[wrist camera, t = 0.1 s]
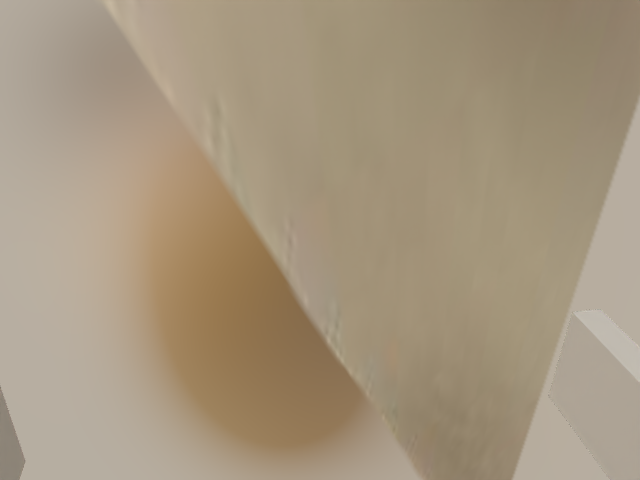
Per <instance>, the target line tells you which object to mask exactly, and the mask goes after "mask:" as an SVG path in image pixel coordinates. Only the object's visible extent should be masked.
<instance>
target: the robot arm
mask: <svg viewBox="0 0 640 480" xmlns="http://www.w3.org/2000/svg"><path fill="white" fill-rule="evenodd" d="M549 397H550V398H551V400H552V401H553V403H554V404H555V405H556V407H557V408H558V409H559V411H560V412H561V413H562V415H563V416H564V418H565V419H566V420H567V422H568V423H569V425H570V426H571V427H572V429H573V430H574V431H575V433H576V434H577V435H578V437H579V438H580V440H581V441H582V442H583V444H584V445H585V446H586V448H587V449H588V450H589V452H590V453H591V454H592V456H593V457H594V459H595V460H596V461H597V463H598V464H599V465H600V467H601V468H602V469H603V471H604V472H605V473H606V475H607V476H608V478H609V479H610V480H640V347H639V346H638V345H637V344H636V343H635V342H634V341H633V340H632V339H631V338H630V337H629V336H628V335H627V334H626V333H625V332H624V331H623V330H621V329H620V328H619V327H618V326H617V325H616V324H615V323H614V322H613V321H612V320H611V319H610V318H609V317H608V316H607V315H606V314H605V313H604V312H603V311H602V310H601V309H597V310H587V311H577V312H572V315H571V318H570V322H569V326H568V329H567V332H566V336H565V339H564V343H563V346H562V350H561V354H560V357H559V360H558V364H557V367H556V371H555V374H554V378H553V382H552V385H551V389H550V392H549ZM24 464H25V458H24V455H23V452H22V450H21V447H20V444H19V441H18V438H17V435H16V432H15V429H14V426H13V423H12V420H11V417H10V414H9V411H8V408H7V405H6V402H5V399H4V396H3V393H2V390H1V387H0V480H19V479H20V476H21V473H22V470H23V467H24Z"/></svg>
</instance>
